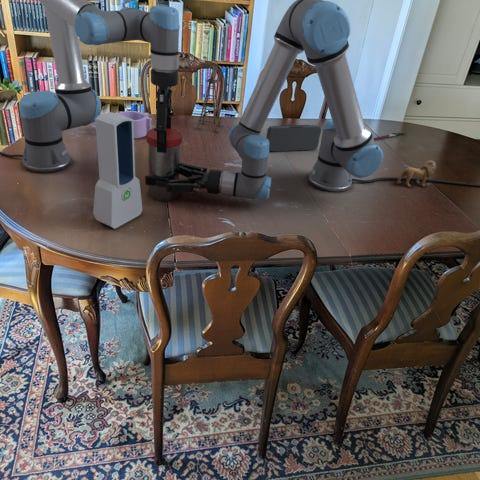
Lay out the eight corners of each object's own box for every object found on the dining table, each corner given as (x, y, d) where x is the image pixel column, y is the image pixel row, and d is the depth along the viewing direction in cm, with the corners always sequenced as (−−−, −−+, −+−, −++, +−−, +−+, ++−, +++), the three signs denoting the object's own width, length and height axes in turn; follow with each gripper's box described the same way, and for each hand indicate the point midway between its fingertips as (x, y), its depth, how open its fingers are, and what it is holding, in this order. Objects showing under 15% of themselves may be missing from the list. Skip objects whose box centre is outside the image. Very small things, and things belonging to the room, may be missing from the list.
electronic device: (112, 230, 128) (105, 125, 112) (93, 221, 131) (83, 117, 115) (143, 213, 137) (140, 113, 121) (124, 205, 140) (119, 106, 124)
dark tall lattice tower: (215, 132, 200) (220, 59, 184) (196, 129, 201) (199, 56, 185) (220, 125, 207) (225, 54, 191) (202, 122, 208) (205, 52, 192)
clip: (101, 139, 182) (100, 121, 178) (98, 128, 192) (97, 111, 188) (152, 137, 188) (152, 120, 184) (147, 126, 198) (147, 110, 194)
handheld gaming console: (315, 147, 196) (319, 124, 190) (317, 149, 194) (322, 126, 188) (264, 149, 189) (267, 125, 183) (266, 152, 187) (269, 127, 181)
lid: (155, 150, 133) (155, 142, 132) (141, 137, 141) (141, 130, 139) (187, 145, 138) (187, 138, 137) (172, 133, 146) (172, 126, 144)
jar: (145, 189, 151) (144, 131, 140) (173, 186, 154) (174, 129, 144) (153, 202, 144) (153, 142, 133) (182, 199, 148) (184, 140, 137)
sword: (401, 132, 223) (402, 129, 222) (407, 134, 221) (407, 131, 220) (358, 143, 207) (358, 140, 206) (363, 145, 205) (364, 143, 204)
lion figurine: (423, 179, 178) (431, 157, 173) (433, 186, 174) (440, 163, 169) (391, 182, 173) (398, 160, 168) (400, 189, 169) (407, 166, 164)
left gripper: (156, 58, 138) (156, 129, 150) (144, 79, 118) (145, 159, 130) (181, 60, 138) (180, 131, 150) (173, 81, 118) (172, 161, 130)
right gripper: (214, 210, 138) (140, 200, 138) (224, 178, 156) (159, 170, 157) (216, 187, 133) (139, 177, 134) (226, 157, 152) (158, 149, 153)
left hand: (164, 144), depth 140 cm, fingers open, 11 cm apart
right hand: (150, 173), depth 146 cm, fingers closed on jar, 9 cm apart
